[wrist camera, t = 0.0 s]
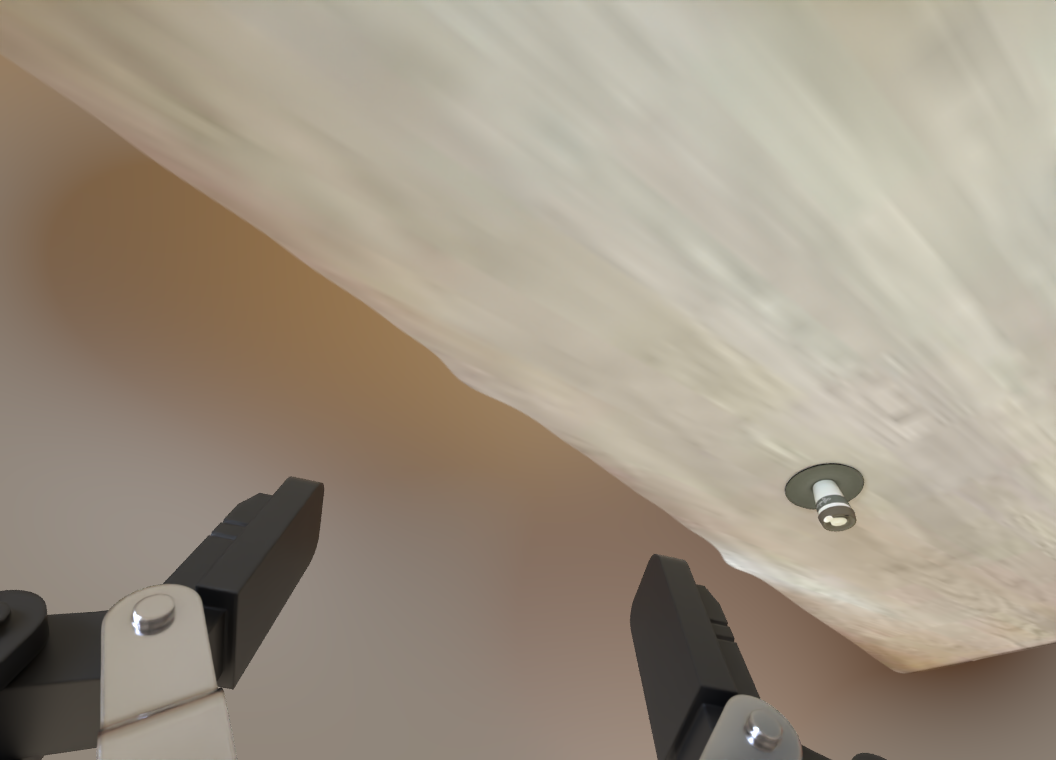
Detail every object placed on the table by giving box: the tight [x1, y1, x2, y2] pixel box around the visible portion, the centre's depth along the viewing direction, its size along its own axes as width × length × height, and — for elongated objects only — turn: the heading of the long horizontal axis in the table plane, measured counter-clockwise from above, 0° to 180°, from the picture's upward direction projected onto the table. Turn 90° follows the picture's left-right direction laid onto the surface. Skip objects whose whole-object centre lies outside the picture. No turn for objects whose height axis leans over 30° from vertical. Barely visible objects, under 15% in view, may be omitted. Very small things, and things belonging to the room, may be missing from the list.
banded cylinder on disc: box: [785, 464, 864, 531], centre depth 54 cm, size 12×12×5 cm
